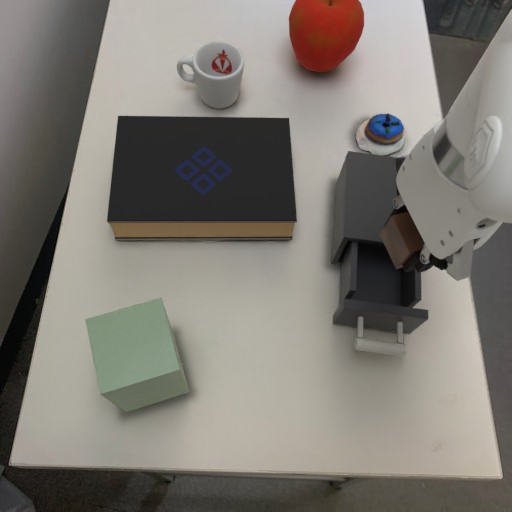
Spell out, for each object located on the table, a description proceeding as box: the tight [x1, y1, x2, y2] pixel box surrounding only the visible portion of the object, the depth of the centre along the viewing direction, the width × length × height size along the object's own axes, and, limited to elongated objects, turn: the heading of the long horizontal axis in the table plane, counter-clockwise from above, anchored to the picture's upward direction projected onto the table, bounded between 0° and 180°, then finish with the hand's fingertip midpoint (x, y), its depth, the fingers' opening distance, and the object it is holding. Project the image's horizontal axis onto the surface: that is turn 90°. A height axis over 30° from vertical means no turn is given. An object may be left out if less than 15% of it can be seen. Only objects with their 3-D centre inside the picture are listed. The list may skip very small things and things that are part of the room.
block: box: [380, 211, 425, 269], centre depth 54 cm, size 4×4×4 cm
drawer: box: [332, 240, 429, 357], centre depth 65 cm, size 17×10×7 cm, turn 173°
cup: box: [176, 40, 245, 109], centre depth 79 cm, size 11×8×8 cm
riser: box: [85, 297, 190, 413], centre depth 56 cm, size 8×8×14 cm
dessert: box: [355, 112, 406, 156], centre depth 80 cm, size 8×7×6 cm
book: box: [106, 115, 298, 241], centre depth 71 cm, size 17×25×7 cm
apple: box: [288, 0, 365, 73], centre depth 80 cm, size 12×12×14 cm
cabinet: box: [330, 150, 397, 266], centre depth 69 cm, size 14×12×9 cm
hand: (406, 245), depth 55 cm, fingers closed on block, 4 cm apart
